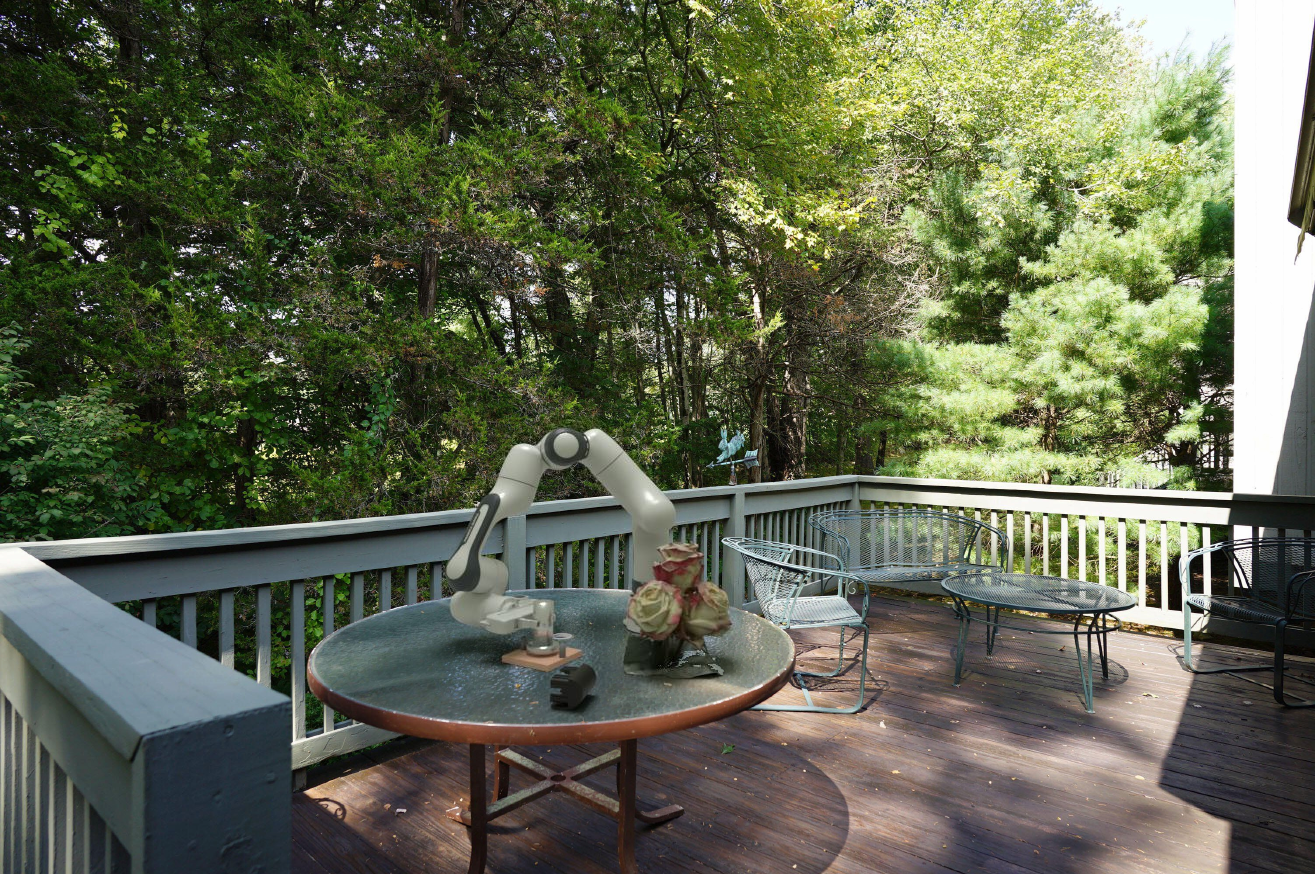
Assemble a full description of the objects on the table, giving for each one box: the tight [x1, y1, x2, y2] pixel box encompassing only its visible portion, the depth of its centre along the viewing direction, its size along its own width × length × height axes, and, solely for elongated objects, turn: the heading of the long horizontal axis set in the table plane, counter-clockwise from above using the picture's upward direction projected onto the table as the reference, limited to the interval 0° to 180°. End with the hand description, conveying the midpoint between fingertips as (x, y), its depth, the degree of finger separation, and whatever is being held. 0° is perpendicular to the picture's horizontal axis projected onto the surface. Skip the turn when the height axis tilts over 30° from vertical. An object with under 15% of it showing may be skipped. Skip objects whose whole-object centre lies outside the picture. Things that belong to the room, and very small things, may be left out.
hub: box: [526, 599, 560, 655], centre depth 177 cm, size 8×8×12 cm
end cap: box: [549, 663, 597, 711], centre depth 150 cm, size 10×7×7 cm
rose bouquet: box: [623, 540, 733, 679], centre depth 176 cm, size 26×29×30 cm
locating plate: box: [501, 635, 583, 673], centre depth 177 cm, size 14×14×4 cm
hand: (546, 621), depth 177 cm, fingers closed on hub, 5 cm apart
